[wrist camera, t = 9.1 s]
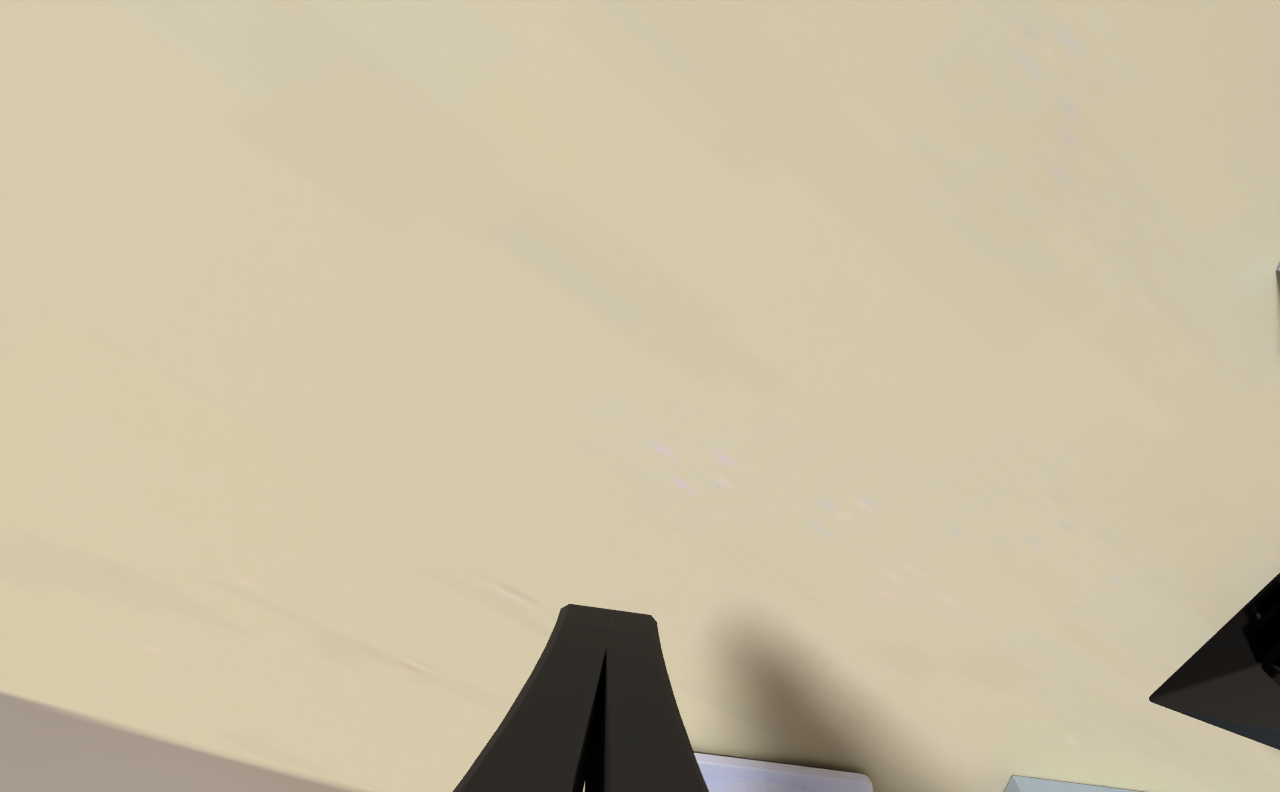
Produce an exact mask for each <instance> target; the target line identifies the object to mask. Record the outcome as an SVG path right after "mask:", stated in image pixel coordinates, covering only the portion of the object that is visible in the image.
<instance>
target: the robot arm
mask: <svg viewBox="0 0 1280 792" xmlns="http://www.w3.org/2000/svg"><path fill="white" fill-rule="evenodd" d="M584 783H585V792H873V786H872V783H871V780H870V778H869V777H867V776H866V775H863V774H860V773H852V772H844V771H836V770H828V769H820V768H812V767H804V766H796V765H788V764H781V763H773V762H765V761H757V760H749V759H741V758H733V757H725V756H717V755H709V754H702V753H694V752H693V750H692V747H691V744H690V741H689V738H688V735H687V733H686V730H685V727H684V724H683V721H682V719H681V716H680V713H679V710H678V707H677V704H676V700H675V697H674V694H673V691H672V687H671V684H670V680H669V677H668V673H667V670H666V666H665V662H664V658H663V654H662V649H661V645H660V639H659V634H658V627H657V622H656V621H655V619H654V618H653V617H652V616H651V615H646V614H639V613H632V612H625V611H617V610H610V609H603V608H595V607H588V606H581V605H574V604H568V605H567V606H565V607H563V608H562V609H561V610H560V613H559V616H558V619H557V622H556V625H555V627H554V629H553V632H552V634H551V636H550V638H549V641H548V643H547V645H546V647H545V649H544V651H543V653H542V655H541V657H540V658H539V660H538V662H537V664H536V666H535V668H534V670H533V671H532V673H531V675H530V677H529V679H528V680H527V682H526V683H525V685H524V687H523V688H522V690H521V692H520V693H519V695H518V697H517V698H516V700H515V702H514V703H513V705H512V707H511V708H510V710H509V712H508V713H507V715H506V716H505V718H504V720H503V721H502V723H501V724H500V726H499V727H498V729H497V730H496V732H495V733H494V734H493V736H492V737H491V739H490V740H489V742H488V743H487V745H486V746H485V747H484V749H483V750H482V752H481V753H480V755H479V756H478V757H477V759H476V760H475V762H474V763H473V765H472V766H471V768H470V769H469V770H468V772H467V773H466V775H465V776H464V777H463V779H462V780H461V781H460V783H459V784H458V785H457V787H456V788H455V789H454V791H453V792H583V787H584Z"/></svg>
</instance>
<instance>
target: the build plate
mask: <svg viewBox="0 0 1280 792" xmlns="http://www.w3.org/2000/svg"><path fill="white" fill-rule="evenodd" d="M1149 700H1150V701H1151V702H1153V703H1155V704H1158V705H1161V706H1163V707H1166V708H1169V709H1171V710H1174V711H1177V712H1179V713H1182V714H1185V715H1187V716H1190V717H1193V718H1196V719H1198V720H1201V721H1204V722H1206V723H1209V724H1212V725H1214V726H1217V727H1220V728H1222V729H1225V730H1228V731H1230V732H1233V733H1236V734H1238V735H1241V736H1244V737H1247V738H1249V739H1252V740H1255V741H1257V742H1260V743H1263V744H1265V745H1268V746H1271V747H1273V748H1276V749H1279V750H1280V573H1279V574H1278V575H1277V576H1276V577H1275V578H1274V579H1273V580H1272V581H1271V582H1270V583H1269V584H1267V585H1266V586H1265V587H1264V588H1263V589H1262V590H1261V591H1260V592H1259V593H1258V594H1257V595H1256V596H1255V597H1254V598H1253V599H1252V600H1251V601H1250V602H1249V603H1247V604H1246V605H1245V606H1244V607H1243V608H1242V609H1241V610H1240V611H1239V612H1238V613H1237V614H1236V615H1235V616H1234V617H1233V618H1232V619H1231V620H1230V621H1229V622H1228V623H1226V624H1225V625H1224V626H1223V627H1222V628H1221V629H1220V630H1219V631H1218V632H1217V633H1216V634H1215V635H1214V636H1213V637H1212V638H1211V639H1210V640H1209V641H1208V642H1206V643H1205V644H1204V645H1203V646H1202V647H1201V648H1200V649H1199V650H1198V651H1197V652H1196V653H1195V654H1194V655H1193V656H1192V657H1191V658H1190V659H1189V660H1188V661H1187V662H1185V663H1184V664H1183V665H1182V666H1181V667H1180V668H1179V669H1178V670H1177V671H1176V672H1175V673H1174V674H1173V675H1172V676H1171V677H1170V678H1169V679H1168V680H1167V681H1166V682H1164V683H1163V684H1162V685H1161V686H1160V687H1159V688H1158V689H1157V690H1156V691H1155V692H1154V693H1153V694H1152V695H1151V696H1150V697H1149Z"/></svg>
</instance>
